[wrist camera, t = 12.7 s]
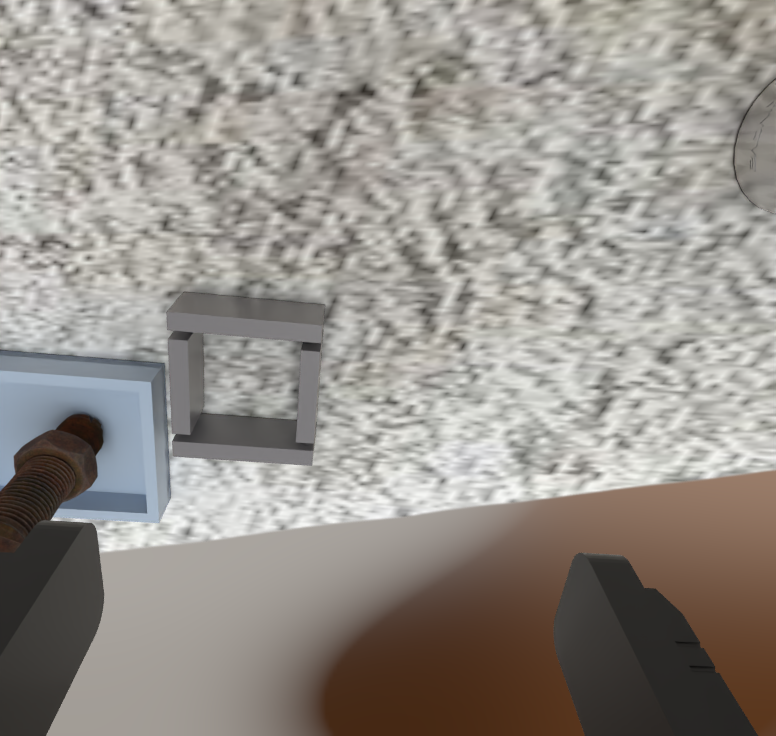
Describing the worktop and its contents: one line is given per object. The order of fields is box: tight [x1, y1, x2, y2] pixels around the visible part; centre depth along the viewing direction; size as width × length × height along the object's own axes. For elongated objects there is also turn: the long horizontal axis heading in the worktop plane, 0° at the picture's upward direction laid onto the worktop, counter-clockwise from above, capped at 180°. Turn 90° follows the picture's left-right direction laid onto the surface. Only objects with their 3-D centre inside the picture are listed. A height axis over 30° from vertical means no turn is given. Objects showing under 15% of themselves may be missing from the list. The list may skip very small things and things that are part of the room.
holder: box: [167, 292, 325, 466], centre depth 40 cm, size 9×10×4 cm
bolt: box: [0, 414, 104, 553], centre depth 36 cm, size 6×5×15 cm
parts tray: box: [0, 350, 171, 523], centre depth 42 cm, size 14×12×3 cm
